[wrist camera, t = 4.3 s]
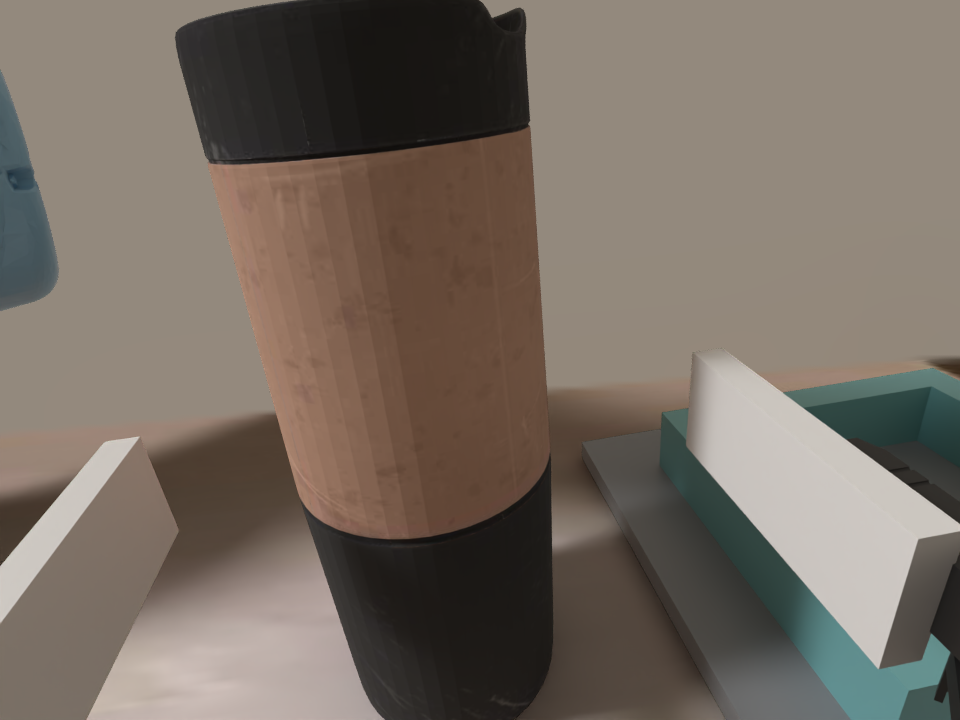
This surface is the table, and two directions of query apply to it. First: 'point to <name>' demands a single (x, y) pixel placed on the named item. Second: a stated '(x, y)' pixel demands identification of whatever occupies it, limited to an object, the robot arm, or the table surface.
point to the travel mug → (397, 323)
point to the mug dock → (776, 559)
